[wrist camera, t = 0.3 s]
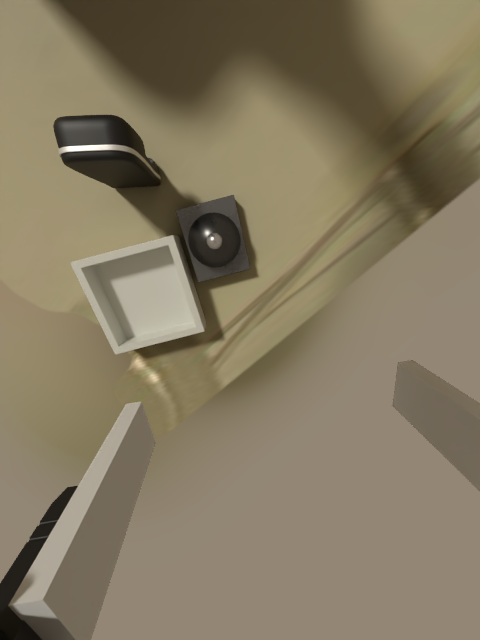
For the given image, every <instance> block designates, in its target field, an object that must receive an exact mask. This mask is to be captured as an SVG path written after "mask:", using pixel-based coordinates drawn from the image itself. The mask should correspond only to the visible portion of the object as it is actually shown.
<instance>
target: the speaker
mask: <svg viewBox="0 0 480 640" xmlns="http://www.w3.org/2000/svg"><path fill="white" fill-rule="evenodd" d="M176 213H177V216H178V219H179V222H180V226H181V229H182V232H183V235H184V238H185V242H186V245H187V248H188V251H189V254H190V258H191V261H192V264H193V267H194V270H195V274H196V277H197V280H198V282H202V281H206V280H210V279H214V278H217V277H221V276H225V275H229V274H233V273H237V272H240V271H244V270H248V269H250V264H249V260H248V256H247V251H246V247H245V242H244V238H243V234H242V229H241V225H240V220H239V216H238V212H237V207H236V203H235V198H234V195H231V196H227V197H223V198H220V199H216V200H212V201H208V202H205V203H201V204H197V205H193V206H190V207H186V208H182V209H178V210H176Z"/></svg>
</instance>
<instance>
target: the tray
mask: <svg viewBox="0 0 480 640" xmlns="http://www.w3.org/2000/svg"><path fill="white" fill-rule="evenodd" d="M70 264H71V266H72V268H73V270H74V272H75V274H76V276H77V278H78V280H79V282H80V284H81V286H82V288H83V290H84V292H85V294H86V296H87V298H88V300H89V302H90V304H91V306H92V308H93V310H94V312H95V314H96V316H97V318H98V320H99V323H100V325H101V327H102V329H103V331H104V333H105V335H106V337H107V339H108V341H109V343H110V345H111V347H112V349H113V351H114V353H115V354H119V353H123V352H126V351H130V350H134V349H138V348H142V347H146V346H150V345H154V344H158V343H161V342H165V341H169V340H173V339H177V338H181V337H185V336H189V335H193V334H196V333H200V332H204V331H205V327H206V320H205V317H204V313H203V310H202V307H201V304H200V301H199V298H198V295H197V292H196V288H195V285H194V282H193V279H192V276H191V273H190V270H189V266H188V263H187V260H186V257H185V254H184V251H183V248H182V245H181V241H180V238H179V236H177V235H171V236H168V237H164V238H160V239H156V240H152V241H149V242H145V243H141V244H137V245H134V246H130V247H126V248H122V249H118V250H115V251H111V252H107V253H103V254H100V255H96V256H92V257H88V258H84V259H81V260H77V261H73V262H70Z"/></svg>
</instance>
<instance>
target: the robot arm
mask: <svg viewBox="0 0 480 640" xmlns="http://www.w3.org/2000/svg"><path fill="white" fill-rule="evenodd" d="M393 407H395V409H396V410H398V411H399V413H401V414H402V415H403V416H404V417H405V418H406V419H407V420H408V421H409V422H410V423H411V424H412V425H413V426H414V427H415V428H416V429H417V430H418V431H419V432H420V433H421V434H422V435H423V436H424V437H425V438H426V439H427V440H428V441H429V442H430V443H431V444H432V445H433V446H434V447H435V448H436V449H437V450H438V451H439V452H440V453H441V454H442V455H443V456H444V457H445V458H446V459H447V460H448V461H449V462H450V463H451V464H452V465H454V466H455V467H456V468H457V470H458V471H460V472H461V473H462V474H463V475H464V476H465V477H466V478H467V479H468V480H469V481H470V482H471V483H472V484H473V485H474V486H475V487H476V488H477V489H478V490H479V491H480V403H479V402H477V401H476V400H474V399H472V398H471V397H469V396H468V395H466V394H465V393H463V392H461V391H460V390H458V389H457V388H455V387H454V386H452V385H451V384H449V383H447V382H446V381H444V380H443V379H441V378H440V377H438V376H436V375H435V374H433V373H432V372H430V371H429V370H427V369H426V368H424V367H422V366H421V365H419V364H418V363H416V362H415V361H413V360H411V361H405V362H398V367H397V375H396V383H395V391H394V399H393ZM154 446H155V440H154V437H153V434H152V431H151V428H150V425H149V422H148V419H147V416H146V413H145V410H144V407H143V404H142V402H136V403H129V404H126V405H125V407H124V409H123V410H122V412H121V414H120V415H119V417H118V419H117V421H116V422H115V424H114V426H113V428H112V429H111V431H110V432H109V434H108V436H107V438H106V439H105V441H104V443H103V445H102V446H101V448H100V450H99V451H98V453H97V455H96V456H95V458H94V460H93V462H92V463H91V465H90V467H89V468H88V470H87V472H86V473H85V475H84V477H83V479H82V481H81V482H80V484H79V485H78V486H74V487H68V488H66V489H65V491H64V492H63V493H62V494H61V495H60V496H59V497H58V498H57V499H56V500H55V501H54V502H53V503H52V504H51V506H50V507H49V509H48V510H47V512H46V514H45V515H44V517H43V518H42V520H41V521H40V525H39V526H37V527H36V529H35V531H34V532H33V534H32V535H31V537H30V540H29V542H27V543H26V545H25V546H24V548H23V549H22V551H21V552H20V554H19V555H18V557H17V558H16V560H15V561H14V563H13V565H12V566H11V568H10V569H9V571H8V572H7V574H6V575H5V577H4V579H3V580H2V582H1V583H0V640H91V638H92V634H93V632H94V629H95V625H96V623H97V620H98V617H99V613H100V611H101V607H102V604H103V601H104V598H105V595H106V592H107V589H108V586H109V583H110V580H111V577H112V574H113V571H114V568H115V565H116V562H117V559H118V556H119V553H120V550H121V546H122V543H123V541H124V538H125V535H126V531H127V528H128V525H129V522H130V519H131V516H132V513H133V510H134V507H135V504H136V501H137V498H138V495H139V492H140V489H141V485H142V483H143V479H144V477H145V474H146V471H147V467H148V465H149V462H150V458H151V456H152V452H153V449H154Z"/></svg>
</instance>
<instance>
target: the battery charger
mask: <svg viewBox="0 0 480 640" xmlns="http://www.w3.org/2000/svg"><path fill="white" fill-rule="evenodd" d="M54 132H55V136H56V140H57V143H58V147H59V149H58V151H59V155H60V157H61V158H62V161H63V163H64V164H65V165H66V166H68V167H69V168H71V169H73V170H75V171H77V172H79V173H82V174H84V175H86V176H88V177H90V178H93V179H95V180H97V181H100V182H102V183H104V184H106V185H108V186H111V187H112V188H125V187H145V186H159V185H160V184H161V182H160V180H161V178H160V175H159V170H158V167H157V165H156V163H155V162H154V161H153V160H152V159H150V158H147V157H146V155H145V149H144V145H143V141H142V140H141V138H140V136H139V135H138V134H137V133H136V131H135V130H134V129H133V128H132V127H131V126H130V125H129V124H128V123H127V122H126V121H125V120H123V119H122V118H120V117H118V116H115V115H84V116H65V117H59V118H57V119H56V120H55V122H54Z"/></svg>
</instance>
